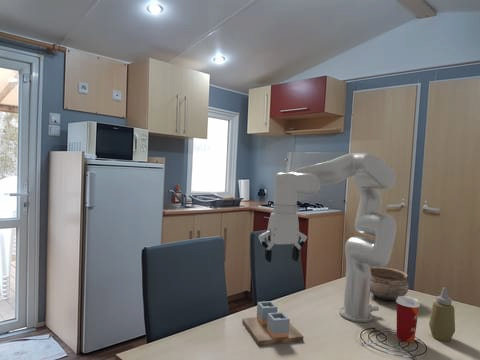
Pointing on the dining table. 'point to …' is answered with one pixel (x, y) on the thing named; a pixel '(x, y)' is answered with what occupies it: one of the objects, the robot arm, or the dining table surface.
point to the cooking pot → (388, 283)
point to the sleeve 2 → (278, 325)
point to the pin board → (264, 337)
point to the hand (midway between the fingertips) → (281, 260)
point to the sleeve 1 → (265, 311)
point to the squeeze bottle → (442, 317)
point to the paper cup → (407, 318)
